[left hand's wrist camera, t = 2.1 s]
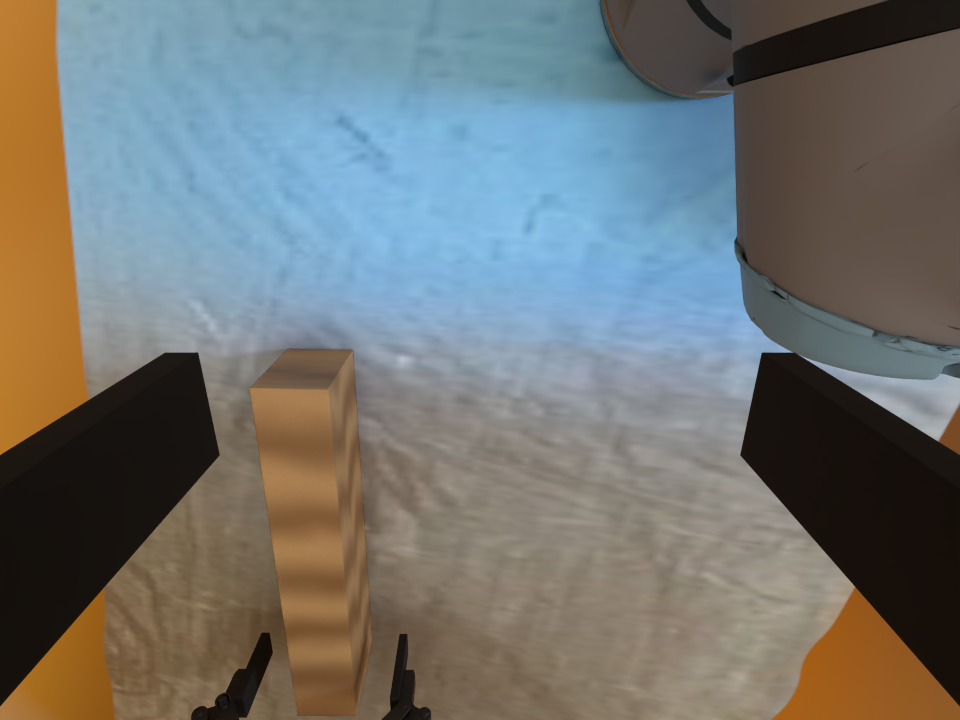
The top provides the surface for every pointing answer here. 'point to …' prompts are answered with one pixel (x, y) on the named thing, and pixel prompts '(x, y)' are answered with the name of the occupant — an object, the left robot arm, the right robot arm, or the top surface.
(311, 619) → the bar
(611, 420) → the top surface
